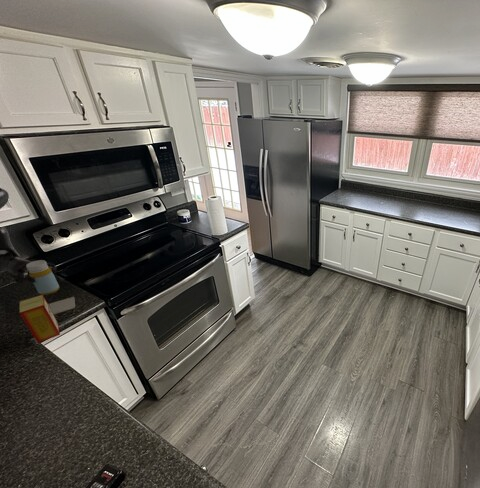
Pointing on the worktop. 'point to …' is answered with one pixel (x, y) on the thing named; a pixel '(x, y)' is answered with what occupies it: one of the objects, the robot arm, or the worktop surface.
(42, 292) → the bottle
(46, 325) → the baking soda box
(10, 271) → the robot arm
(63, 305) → the mat
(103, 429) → the worktop surface
